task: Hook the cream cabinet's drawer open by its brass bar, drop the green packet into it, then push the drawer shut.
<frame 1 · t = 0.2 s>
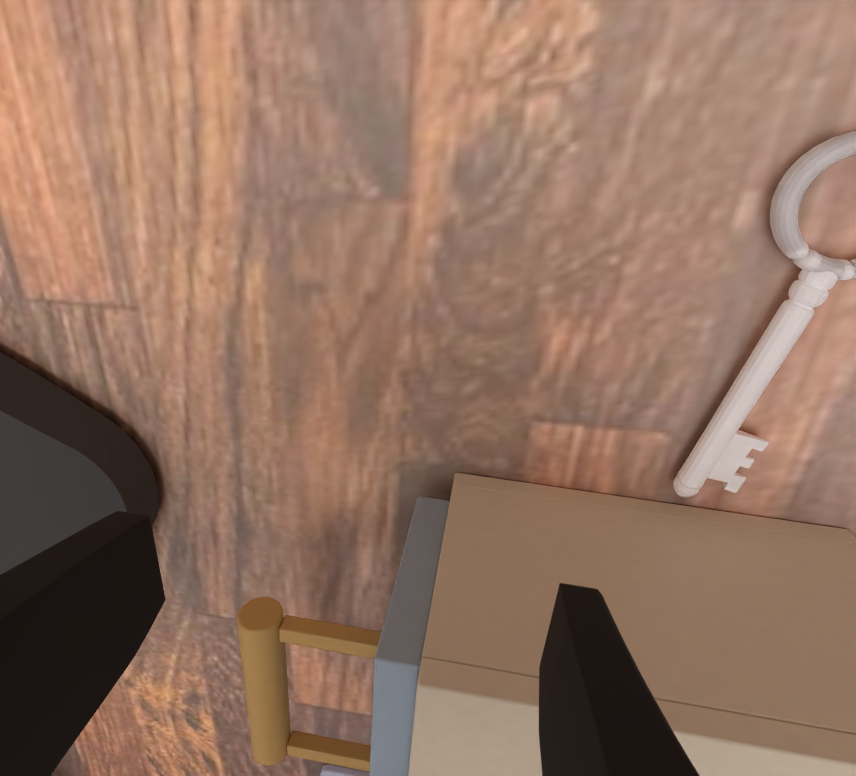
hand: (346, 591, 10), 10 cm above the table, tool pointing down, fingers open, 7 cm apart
key: (770, 327, 17), on the table
cabinet: (607, 624, 23), on the table
drawer: (500, 705, 19), point 4 cm above the table, slide at 0.0 cm
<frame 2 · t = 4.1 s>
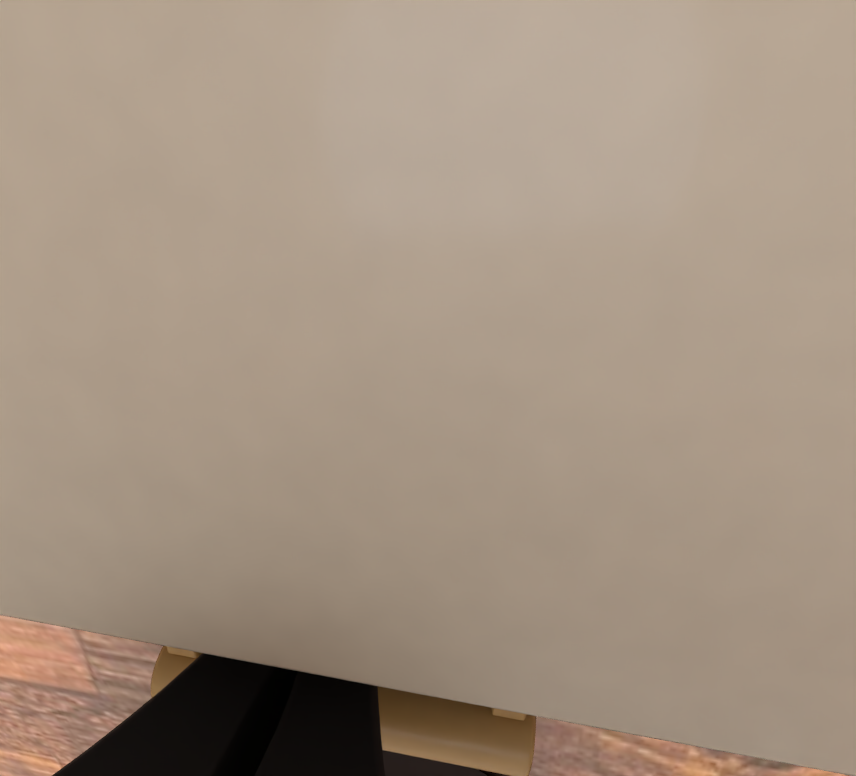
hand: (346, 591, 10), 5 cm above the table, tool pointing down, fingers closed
drawer: (365, 267, 8), point 4 cm above the table, slide at 0.0 cm
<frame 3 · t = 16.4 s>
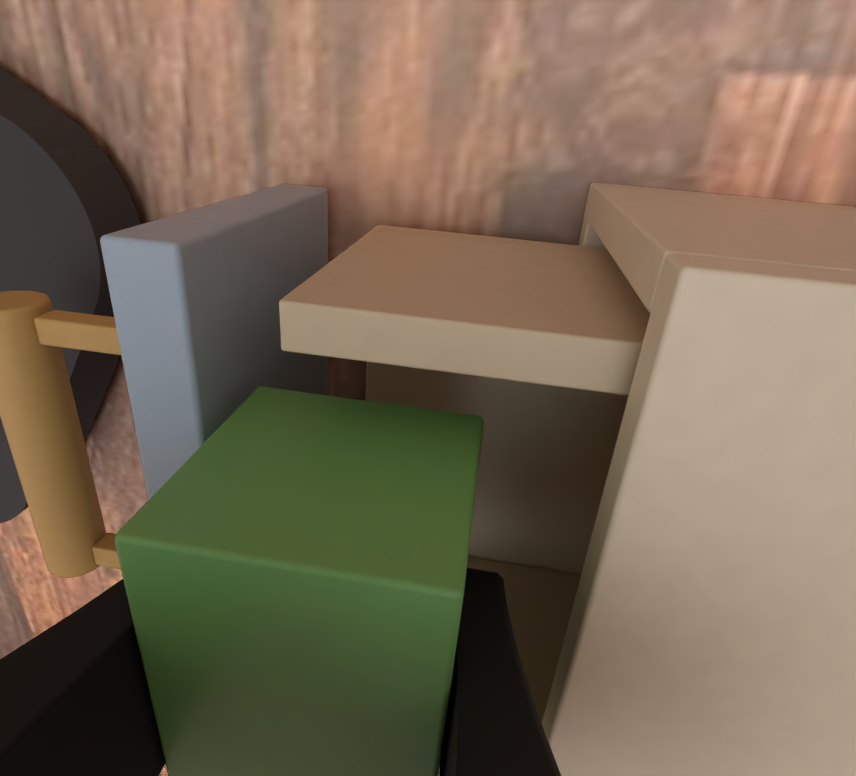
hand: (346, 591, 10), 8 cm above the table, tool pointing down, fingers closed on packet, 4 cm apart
packet: (364, 533, 11), point 6 cm above the table, touching gripper
cabinet: (789, 440, 16), on the table
drawer: (394, 473, 13), point 4 cm above the table, slide at 6.3 cm
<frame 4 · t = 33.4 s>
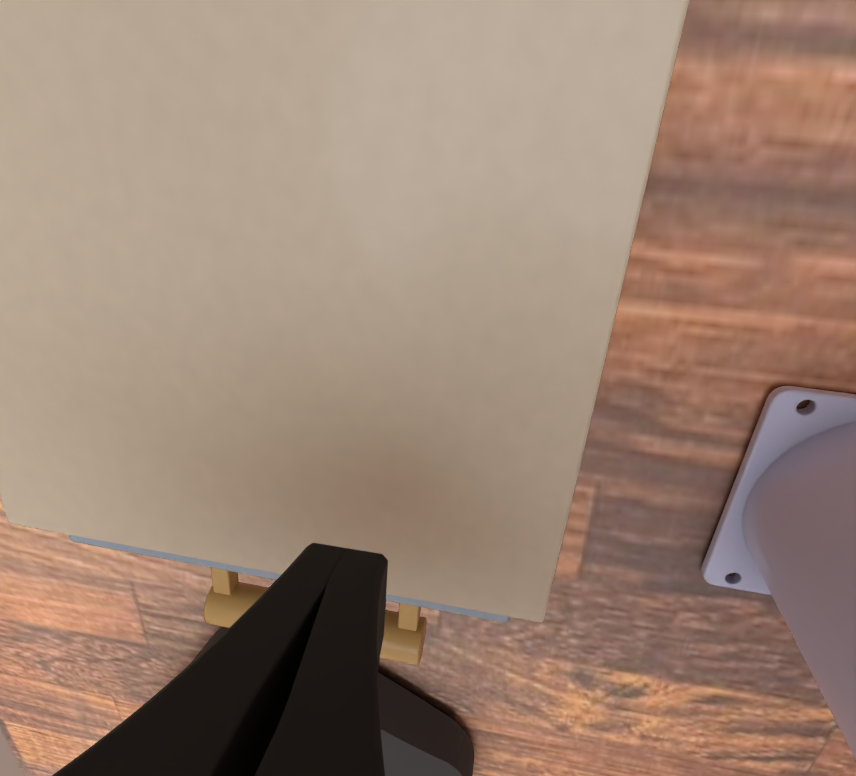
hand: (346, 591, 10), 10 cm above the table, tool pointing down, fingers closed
media streaming box: (312, 730, 29), on the table
cabinet: (368, 204, 17), on the table
drawer: (322, 386, 15), point 4 cm above the table, slide at 0.0 cm, touching cabinet, packet
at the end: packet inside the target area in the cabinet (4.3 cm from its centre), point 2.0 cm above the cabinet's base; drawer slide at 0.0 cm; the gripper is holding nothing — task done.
